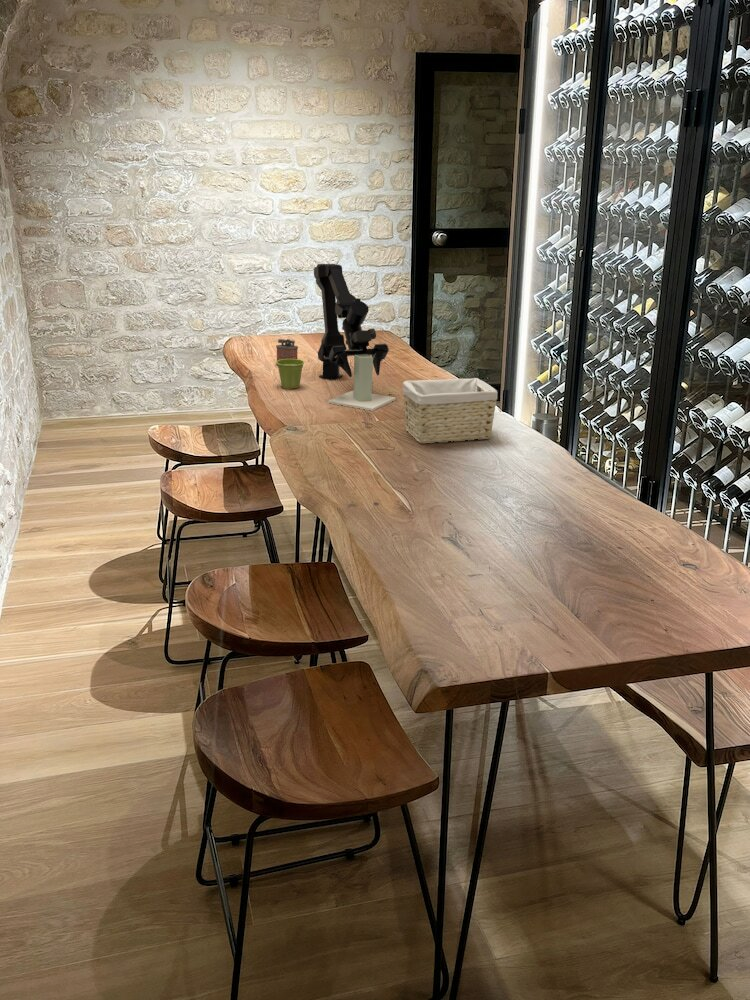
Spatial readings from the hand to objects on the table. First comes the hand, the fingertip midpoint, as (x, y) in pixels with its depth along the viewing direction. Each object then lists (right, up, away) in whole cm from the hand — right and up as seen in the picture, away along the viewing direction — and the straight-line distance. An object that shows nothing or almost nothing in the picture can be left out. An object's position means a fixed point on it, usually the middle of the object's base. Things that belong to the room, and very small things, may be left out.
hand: (364, 375), depth 275 cm
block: (-1, -7, +4) cm, 8 cm away
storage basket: (+24, -21, -26) cm, 41 cm away
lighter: (-29, +10, +47) cm, 56 cm away
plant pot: (-25, -1, +19) cm, 32 cm away
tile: (-1, -8, +4) cm, 9 cm away
